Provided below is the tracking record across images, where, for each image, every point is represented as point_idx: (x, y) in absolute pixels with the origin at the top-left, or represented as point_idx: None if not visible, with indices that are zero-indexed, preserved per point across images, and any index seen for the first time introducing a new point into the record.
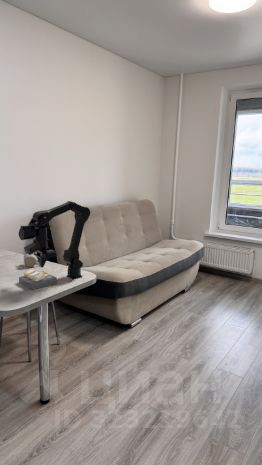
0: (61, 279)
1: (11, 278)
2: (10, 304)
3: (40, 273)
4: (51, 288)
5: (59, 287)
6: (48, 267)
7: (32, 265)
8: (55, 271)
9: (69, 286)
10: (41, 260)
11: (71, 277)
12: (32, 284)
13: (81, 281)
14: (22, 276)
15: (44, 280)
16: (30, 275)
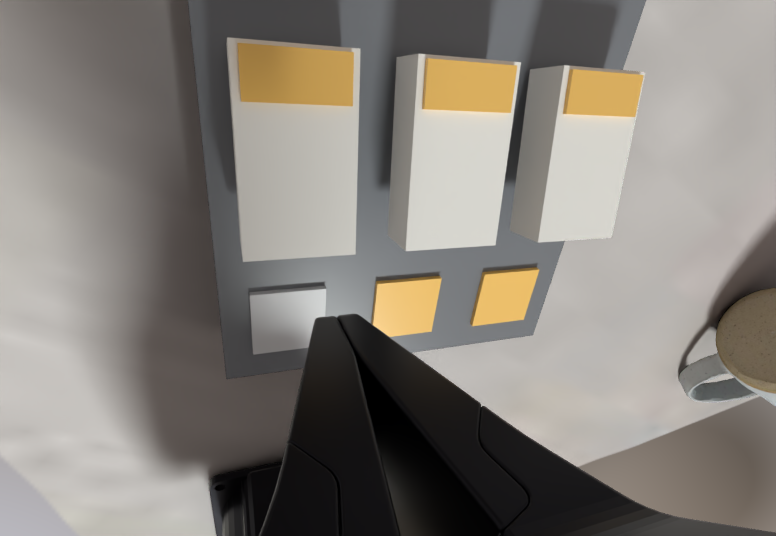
0: (294, 397)
1: (743, 5)
2: None
3: (494, 285)
4: (61, 198)
5: (38, 295)
6: (607, 403)
7: (729, 327)
8: (502, 417)
9: (4, 395)
10: (265, 527)
11: (244, 480)
12: None
13: (102, 516)
14: (616, 44)
15: (222, 206)
16: (458, 75)
